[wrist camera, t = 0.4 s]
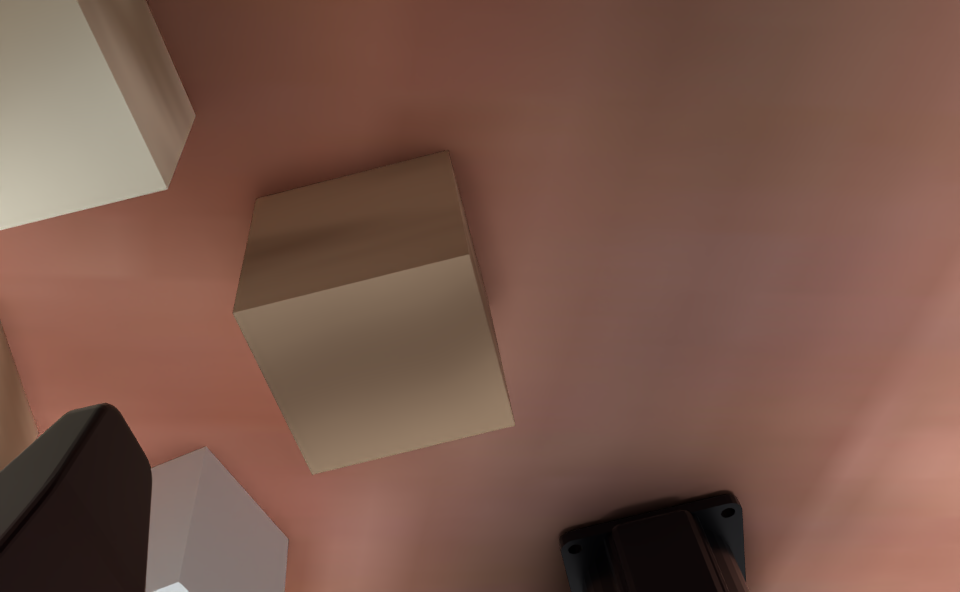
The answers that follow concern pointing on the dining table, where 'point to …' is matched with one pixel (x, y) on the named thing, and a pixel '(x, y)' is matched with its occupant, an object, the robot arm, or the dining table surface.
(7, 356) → the maple block
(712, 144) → the dining table surface
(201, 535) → the grey block
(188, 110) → the cream square block
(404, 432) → the walnut block
